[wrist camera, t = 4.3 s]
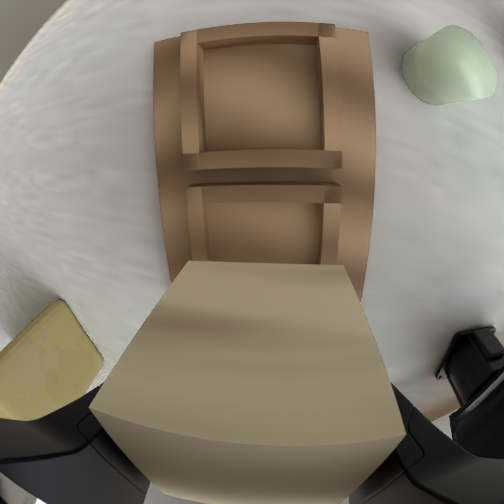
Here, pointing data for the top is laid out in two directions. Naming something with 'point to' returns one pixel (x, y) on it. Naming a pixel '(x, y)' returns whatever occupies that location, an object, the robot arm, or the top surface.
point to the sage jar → (449, 68)
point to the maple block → (253, 387)
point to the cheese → (46, 365)
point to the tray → (266, 145)
